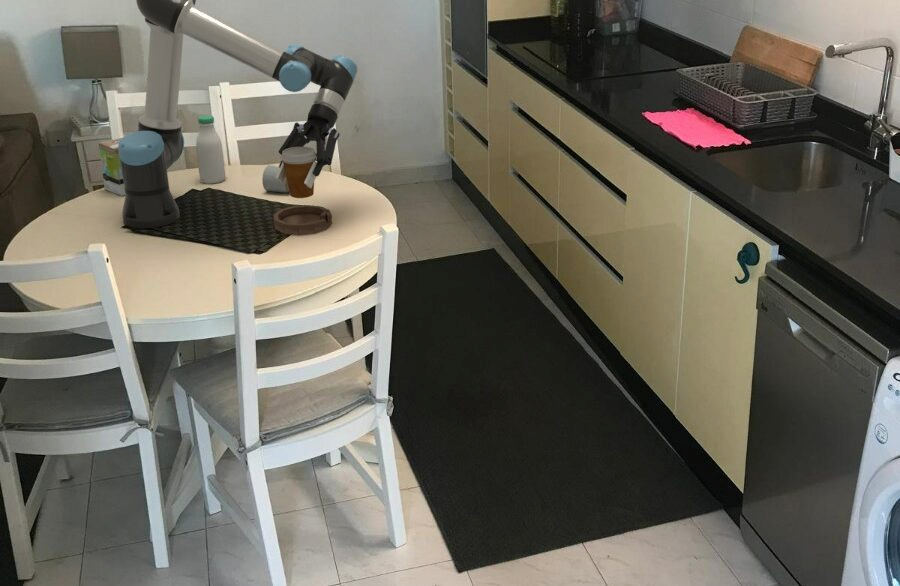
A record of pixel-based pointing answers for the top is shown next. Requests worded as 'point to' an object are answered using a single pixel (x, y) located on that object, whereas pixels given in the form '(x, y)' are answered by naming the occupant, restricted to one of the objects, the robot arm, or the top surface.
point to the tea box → (111, 166)
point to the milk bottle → (209, 152)
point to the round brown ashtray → (302, 220)
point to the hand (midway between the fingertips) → (293, 182)
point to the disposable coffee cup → (298, 170)
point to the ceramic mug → (273, 180)
